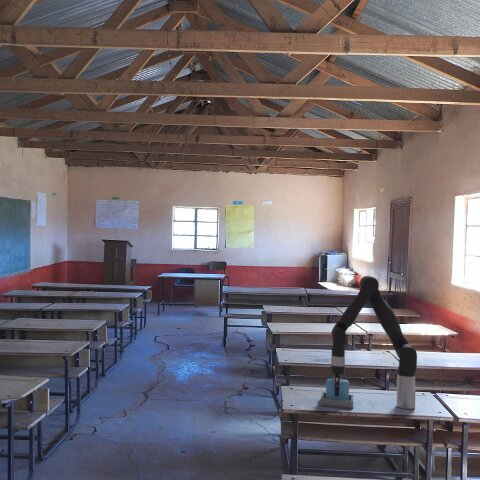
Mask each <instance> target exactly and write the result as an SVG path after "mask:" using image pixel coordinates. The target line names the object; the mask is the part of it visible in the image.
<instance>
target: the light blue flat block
mask: <svg viewBox="0 0 480 480" xmlns="http://www.w3.org/2000/svg"><path fill="white" fill-rule="evenodd" d="M339 383H340V381H339ZM334 387H335V385H334V378H327V379H326V384H325V392H326V399H337V400H347V401H349V395H350V382H349V381H348V379H342V378H341V384H340V386H339V388H340V389H339V396H335V388H334ZM336 387H338V385H336Z"/></svg>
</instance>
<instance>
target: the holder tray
mask: <svg viewBox="0 0 480 480" xmlns="http://www.w3.org/2000/svg"><path fill="white" fill-rule="evenodd" d="M319 403H320V407H327V408H337V409H348V410H353V409H354V394H349V401H347V400H337V399H326V391H325V392H324V391H322V392H321V395H320V402H319Z"/></svg>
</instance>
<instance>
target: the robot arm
mask: <svg viewBox="0 0 480 480" xmlns="http://www.w3.org/2000/svg"><path fill="white" fill-rule="evenodd" d="M379 283H380V282H379V280H378V279H377V278H376V277H374V276H370V275H365V276H363V277H361V279H360V280H359V287H360V288H359V291H358V293H357V295H356V296H355V298H354V299H353V300H352V302H351V303H349V305H348V306H347V308H346V309H345V310H344V312H343V314H342V315H341V317H340V318H339V320H338V321H337V322H336V323H335V325H334V326H333V327H332V329H331V337H332V346H331V355H330V356H331V357H330V373H332V374H334V376H333V379H334V385H335V387H334V388H335V396H339V389H340V388H339V386H340V384H341V379H342V375H343V374H345V373H346V356H345V355H346V353H345V352H346V350H345V348H346V341H347V334H346V332H347V330H348V329H349V328H350V327H352V325H353V324H354V323H355V321H356V320H357V318H358V316H359V314H360V313H361V312H362V310H363V308H364V306H366V304H367V302H368V301H369V303H370V306H371V307H372V310H373V312H374V314H375V316H376V318H377V320H378V322H379V324H380V325H381V327H382V329H383V330H384V332H385V334H386V335H387V336H388V338H389V340H390V341H391V344H392V346H393V348H394V351H395V354H396V356H397V358H399V359H398V368H397V371H396V407H398V408H399V409H404V410H412V409H413V410H415V409H416V373H417V368H418V367H417V365H418V352H417V351H416V349H415V348H414V347H413V346H412V345H410V343H409V342H408V341H407V339H406V337H405V336H404V334H403V332H402V329H401V325H400V322H399V320H398V318H397V316H396V314H395V312H394V310H393V309H392V307H391V306H390V305H389V304H388V302H387V301H386V300H385V298H384V297H383V296H382V293H381V291H380V289H379V288H380V284H379ZM339 381H340V383H339ZM336 385H338V387H336Z"/></svg>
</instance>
